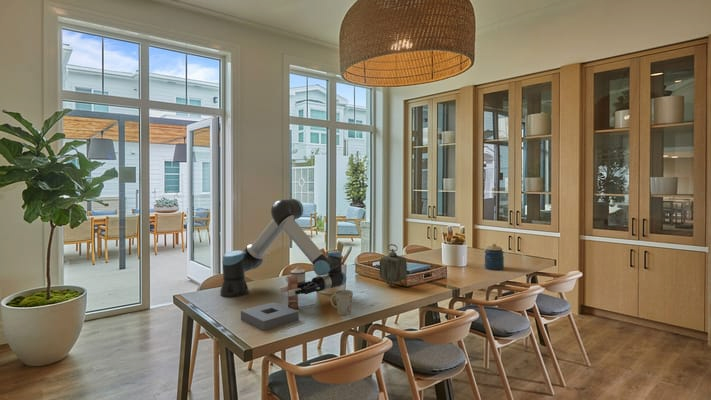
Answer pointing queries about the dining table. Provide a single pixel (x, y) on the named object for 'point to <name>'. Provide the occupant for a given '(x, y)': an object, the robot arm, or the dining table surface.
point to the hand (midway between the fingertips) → (284, 292)
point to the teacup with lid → (298, 274)
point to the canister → (494, 258)
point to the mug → (343, 301)
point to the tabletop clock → (393, 267)
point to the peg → (291, 286)
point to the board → (269, 315)
